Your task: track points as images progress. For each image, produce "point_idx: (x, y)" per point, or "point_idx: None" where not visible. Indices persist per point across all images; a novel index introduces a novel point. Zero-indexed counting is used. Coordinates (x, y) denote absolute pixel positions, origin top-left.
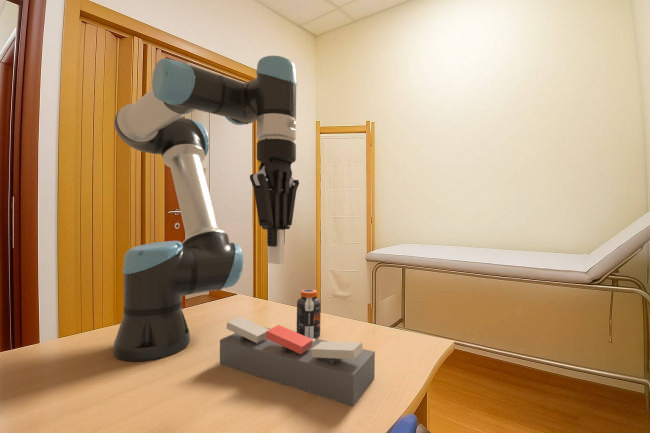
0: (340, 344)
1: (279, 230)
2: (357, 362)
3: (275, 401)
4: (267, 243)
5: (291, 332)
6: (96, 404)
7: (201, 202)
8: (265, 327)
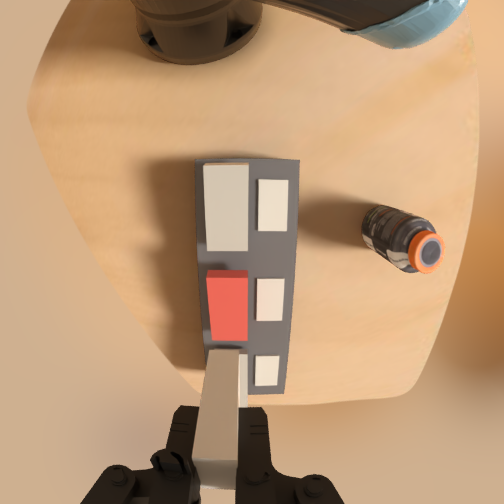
0: None
1: (202, 485)
2: None
3: (170, 300)
4: (174, 414)
5: (239, 309)
6: (65, 124)
7: None
8: (298, 195)
